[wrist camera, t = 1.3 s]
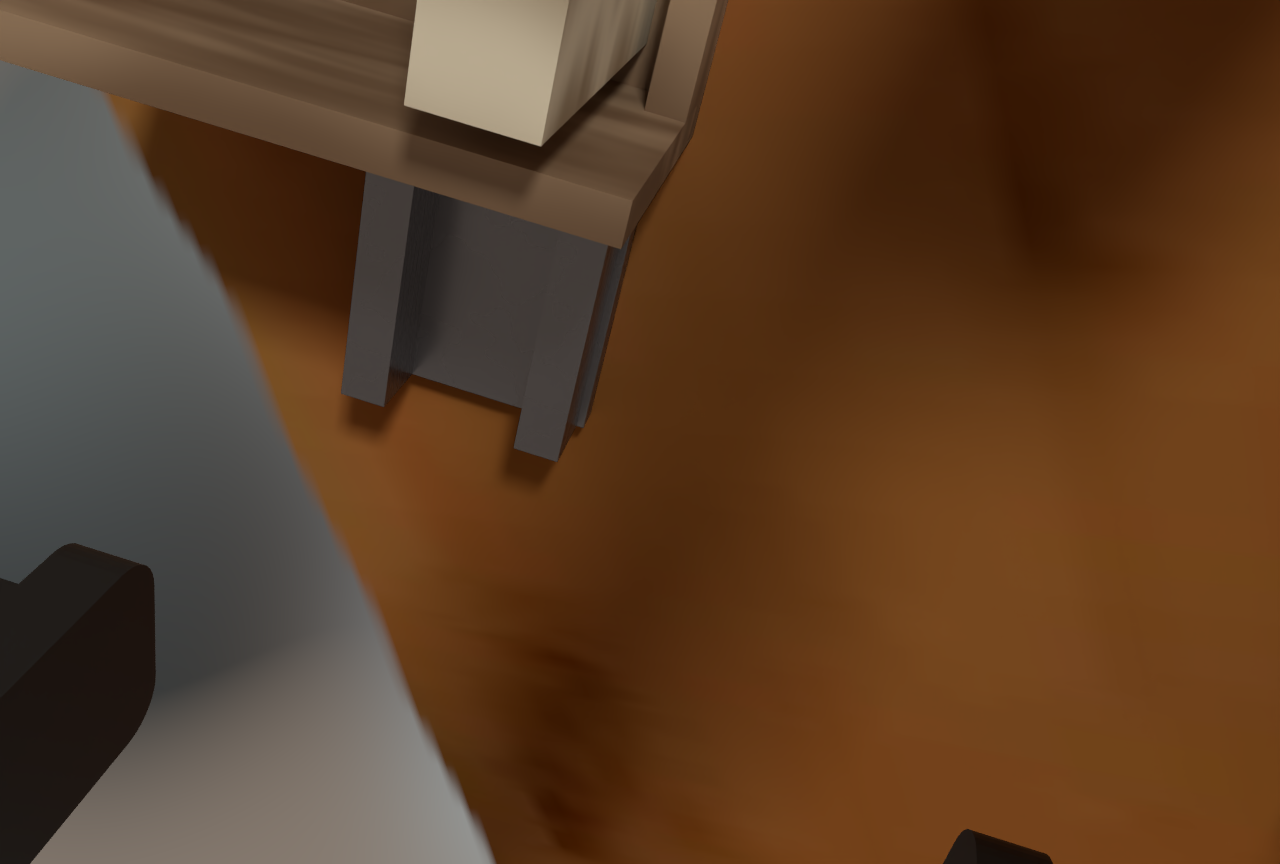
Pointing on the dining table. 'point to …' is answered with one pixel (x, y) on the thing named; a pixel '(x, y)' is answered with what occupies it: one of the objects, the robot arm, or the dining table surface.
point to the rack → (382, 96)
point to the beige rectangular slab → (519, 59)
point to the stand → (480, 308)
